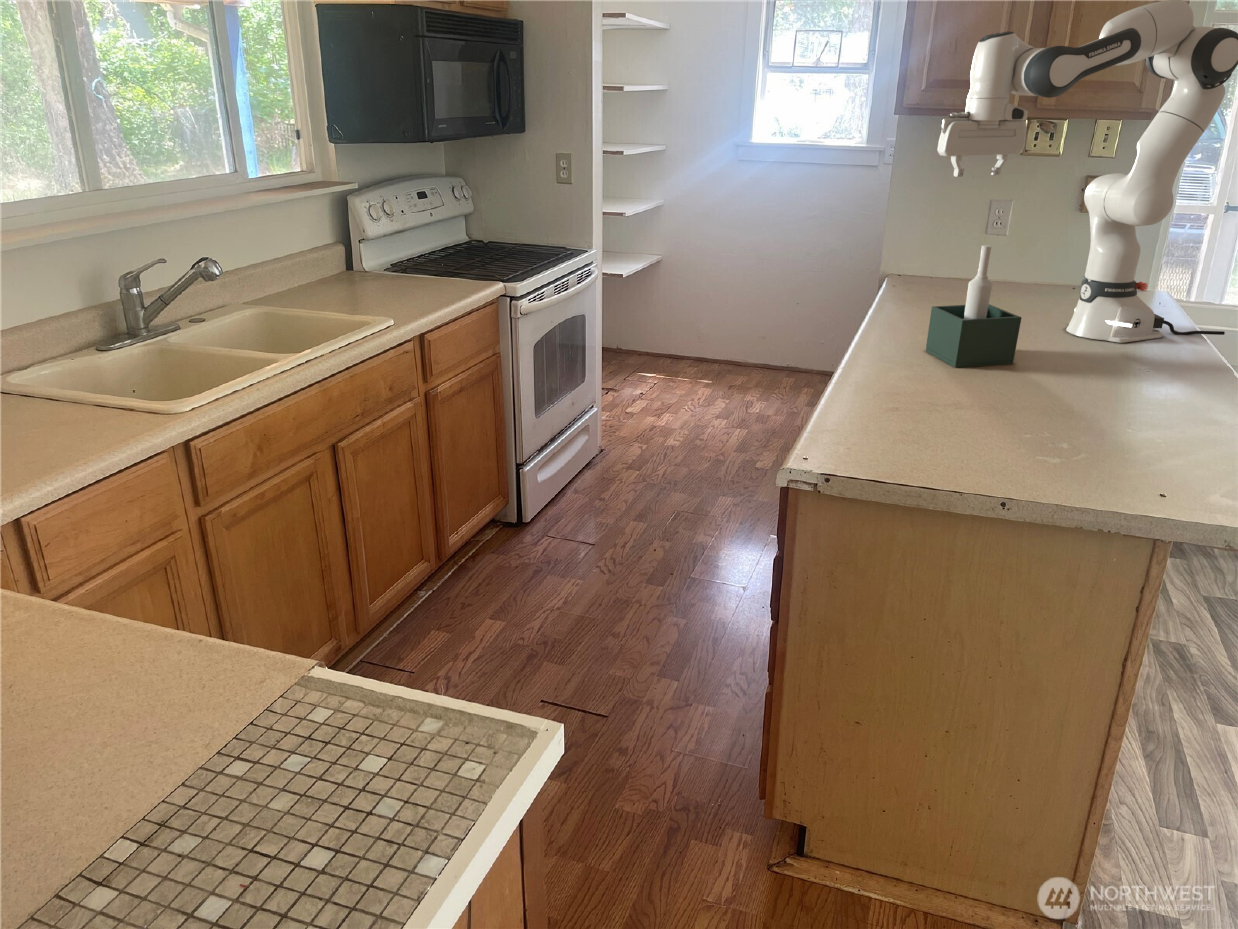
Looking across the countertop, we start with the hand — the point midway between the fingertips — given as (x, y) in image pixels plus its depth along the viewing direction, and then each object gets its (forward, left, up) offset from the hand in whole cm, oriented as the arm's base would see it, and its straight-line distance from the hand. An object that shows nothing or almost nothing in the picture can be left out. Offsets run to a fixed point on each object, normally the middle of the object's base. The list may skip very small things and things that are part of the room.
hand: (976, 175), depth 202 cm
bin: (+3, +13, -40) cm, 42 cm away
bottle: (+3, +13, -39) cm, 41 cm away
